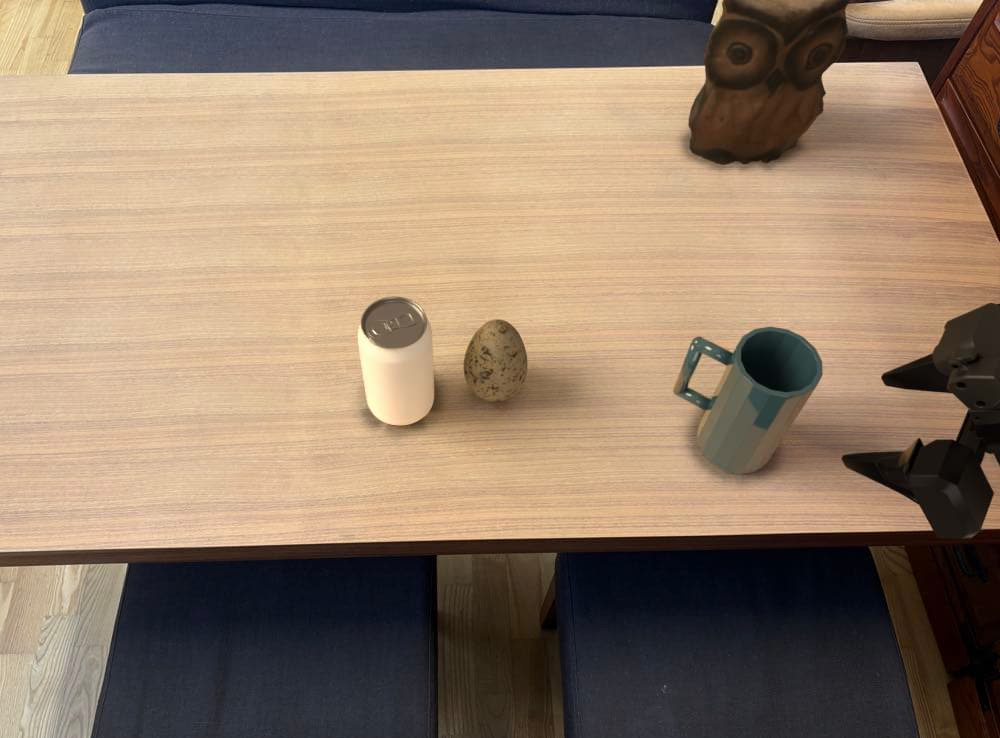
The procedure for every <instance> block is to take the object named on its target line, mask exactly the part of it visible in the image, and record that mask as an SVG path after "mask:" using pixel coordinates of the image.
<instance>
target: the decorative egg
mask: <svg viewBox="0 0 1000 738" xmlns="http://www.w3.org/2000/svg"><path fill="white" fill-rule="evenodd" d="M528 364H529V363H528V353H527V350H526V345H525V343H524V340H523V339H522V336H521V335H520V332H519V331H518V330H517V329H516V327H514V325H512V323H510V322H508V321H507V320H504V319H499V318H498V319H497V318H496V319H492V320H488V321H487V322H485V323H484V324H482V325H481V326H480V327H479V328H478V329H477V330H476V331H475V333H474V334H473V335H472V338H471V339H470V341H469V343H468V345H467V348H466V351H465V354H464V359H463V374H464V375H463V376H464V378H465V382H466V384H467V387H469V389H470V390H471V391H472V393H473V394H475V395H476V396H477V397H478V398H480V399H481V400H483V401H487V402H493V403H494V402H495V403H496V402H497V403H498V402H503V401H506V400H509V399H510V398H512V397H513V396H515V395H516V394H517V393H518V392H519V391H520V390H521V388H522V387H523V386H524V383H525V381H526V377H527V374H528Z"/></svg>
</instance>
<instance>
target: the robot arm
mask: <svg viewBox="0 0 1000 738" xmlns="http://www.w3.org/2000/svg"><path fill="white" fill-rule="evenodd" d="M943 329H944V331H943V333H942V335H941V337H940V340H939V342H938V344H937V345H936V346H935V347H934V349H933V350H932V353H930V354H928V355H925V356H923V357H920V358H918V359H915V360H912V361H910V362H907V363H904V364H903V365H900V366H898V367H895V368H894V369H890V370H888V371H885V372H883V373H882V374H881V381H882V382H883V385H884V386H885V387H890V388H895V389H901V390H908V391H920V392H930V393H942V394H943V393H944V394H952V395H953V396H954V397H956V398H957V399H958V400H959V402H961V403H962V404H963V405H964V406H965V407H966V408H967V411H966V413H965V417H964V420H963V421H962V424H961V425H960V428H959V431H958V434H957V436H956V439H951V438H949V439H948V438H947V439H945V438H944V439H943V438H941V439H939V438H938V439H934V440H932V441H931V442H928V443H927V444H924V442H923V440H922V439H921V437H918V438H916V439H915V440H914V441H913V442H912V443H911V444H910V445H909V446H908V447H907V448H906V449H905V450H904V449H903V450H893V451H892V450H890V451H889V450H888V451H865V452H862V451H861V452H853V453H848V454H842V456H841V462H842V464H843V465H844V467H845V468H846V469H849V470H850V471H852V472H855V473H857V474H858V475H861V476H862V477H865V478H867V479H869V480H871V481H873V482H875V483H877V484H880V485H882V486H884V487H886V488H888V489H890V490H892V491H894V492H896V493H898V494H900V495H901V496H904V497H905V498H907V499H909V500H910V501H911V502H913V503H915V504H917V505H918V506H919V508H920V510H921V511H922V513H923V515H924V517H925V518H926V520H927V522H928V524H929V526H930V527H931V529H932V532H933V533H934V535H935V537H936V538H940V539H941V538H942V539H954V540H956V539H957V540H966V539H967V540H969V539H972V538H973V537H974V536H976V535H977V534H978V533H979V532H981V531H982V528H983V525H984V522H985V519H986V518H987V514H988V511H989V509H990V506H991V503H992V500H993V498H994V496H995V495H994V494H995V492H994V490H993V487H992V485H991V484H990V482H989V480H988V477H987V476H986V474H985V472H984V469H983V468H982V463H983V460H984V457H985V455H986V454H988V455H993V457H994V458H995V459H996V463H997V464H998V466H999V467H1000V303H995V302H988V303H985V304H984V305H980V306H979V307H977V308H974V309H972V310H970V311H968V312H965V313H963V314H960V315H958V316H956V317H953V318H951V319H949V320H947V321H946V322H945V324H944V327H943Z"/></svg>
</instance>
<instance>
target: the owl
mask: <svg viewBox="0 0 1000 738" xmlns="http://www.w3.org/2000/svg"><path fill="white" fill-rule="evenodd" d="M851 1H852V0H722V1H721V8H722V14H721V15H720V18H719V19H718V21H717V23H716V24H715V26H714V27H713V28H712V29H711V32H710V33H709V36H708V40H707V44H706V51H705V53H704V54H703V57H702V60H703V64H704V74H705V80H704V84H703V86H702V87H701V89H700V90H699V92H698V93H697V94H696V96H695V99H693V103H692V105H691V108H690V111H689V116H688V124H687V126H688V128H689V129H690V135H691V136H690V138H689V150H690V151H691V153H692V154H693V155H696V156H699V157H701V158H703V159H705V160H708V161H710V162H713V163H715V164H717V165H721V166H722V165H723V166H724V165H728V164H730V163H734V162H739V163H740V164H742V165H748V164H750V163H753V162H761V163H764V164H769V163H771V162H772V161H774V160H778V159H780V158H781V157H782V155H784V153H786V152H787V151H789V150H791V149H793V148H796V146H797V143H798V141H799V139H800V138H801V137H802V136H803V135H804V134H805V133H806V132H808V130H809V129H810V127H811V126H812V125H813V123H814V122H815V120H816V119H817V118H818V117H819V116H820V115H822V114H823V113H824V106H825V105H824V104H825V102H824V97H825V96H826V94H827V92H826V90H825V87H824V82H823V74H824V73H825V72H827V70H828V69H829V68H830V67H831V66H832V65H833V64H835V63H836V62H837V61H838V60H839V59H840V58H841V54H842V52H843V51H844V50H845V49H844V48H845V47H846V43H847V36H848V34H849V29H848V28H849V27H848V22H847V15H846V9H847V6H848V5H849V3H850V2H851Z"/></svg>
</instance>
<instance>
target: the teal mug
mask: <svg viewBox="0 0 1000 738" xmlns="http://www.w3.org/2000/svg"><path fill="white" fill-rule="evenodd" d="M702 355H705V356H707V357H708V358H711V359H713V360H714V361H717V362H719V363H721V364H722V365H725V366H726V367H725V370H724V371H723V374H722V376H721V378H720V380H719V382H718V384H717V386H716V388H715V390H714V393H713V395H712V397H708V396H707V395H704V394H703V393H701V392H699V391H697V390H695V389H693V388H691V387H690V386H689V385H690V384H691V381H692V379H693V376H694V375H695V371H696V369H697V367H698V365H699V362H700V360H701V358H702ZM823 373H824V372H823V361H822V358H821V356H820V354H819V352H818V350H817V349H816V347H815V346H814V345H813V344H811V342H810V341H809V340H807V339H806V338H805V337H804V336H802V335H800V334H798V333H796V332H795V331H792V330H790V329H788V328H782V327H776V326H765V327H758V328H754V329H752V330H750V331H749V332H748V333H746V334H744V335H742V337H741V338H740V340H739V341H738V343H737V344H736V346H735V348H734V350H733V351H730V350H729V349H727V348H725V347H723V346H721V345H718V344H717V343H715V342H713V341H711V340H709V339H707V338H705V337H702V336H700V335H699V336H695V337H694V338H693V339H692V340H691V342H690V344H689V347H688V350H687V352H686V355H685V357H684V360H683V362H682V364H681V367H680V370H679V372H678V375H677V377H676V380H675V382H674V385H673V388H672V392H673V394H674V395H675V396H676V397H678V398H680V399H682V400H684V401H686V402H688V403H690V404H691V405H694V406H695V407H697V408H699V409H701V410H703V411H705V412H704V414H703V416H702V418H701V420H700V422H699V424H698V429H697V432H696V441H697V446H698V448H699V450H700V452H701V454H702V456H703V457H704V458H705V459H706V460H707V461H708V462H709V463H711V465H712V466H714V467H716V468H717V469H719V470H721V471H724V472H725V473H729V474H735V475H747V474H751V473H754V472H757V471H759V470H760V469H762V468H763V467H765V466H766V464H767V463H768V462H769V460H770V459H771V458H772V455H773V454H774V453H775V451H776V450H777V449H778V447H779V445H780V444H781V442H782V441H783V439H784V437H785V436H786V435H787V433H788V431H789V429H791V427H792V425H793V424H794V422H795V420H796V419H797V418H798V416H799V414H800V413H801V412H802V410H803V408H804V406H805V405H806V404H807V402H808V400H809V399H810V397H811V396H812V395H813V393H814V391H815V390H816V389H817V386H818V385H819V383H820V381H821V379H822V377H823Z"/></svg>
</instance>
